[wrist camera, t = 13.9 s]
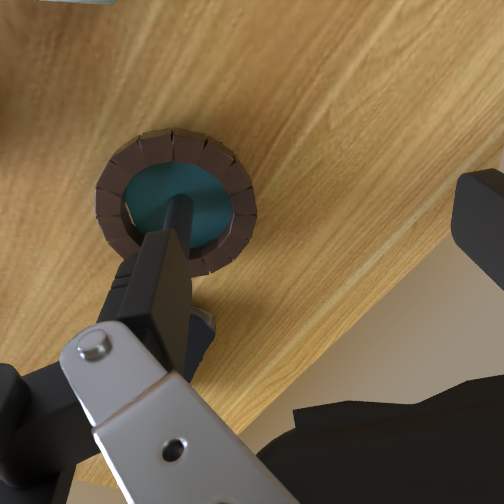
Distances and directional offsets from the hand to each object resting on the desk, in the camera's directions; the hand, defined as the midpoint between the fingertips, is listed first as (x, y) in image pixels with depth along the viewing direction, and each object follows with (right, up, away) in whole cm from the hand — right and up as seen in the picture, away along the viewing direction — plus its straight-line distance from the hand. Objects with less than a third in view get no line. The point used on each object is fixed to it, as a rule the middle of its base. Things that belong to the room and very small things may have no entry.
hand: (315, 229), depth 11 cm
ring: (-9, +4, +25) cm, 27 cm away
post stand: (-9, +4, +26) cm, 27 cm away
